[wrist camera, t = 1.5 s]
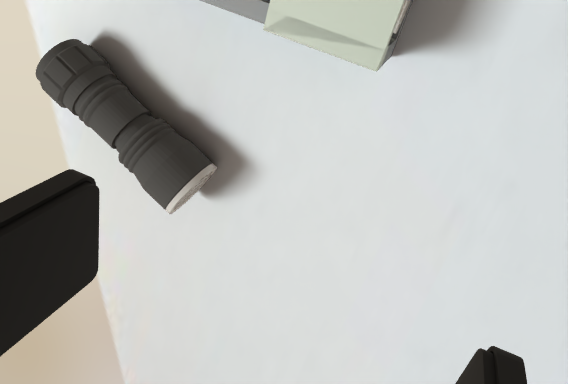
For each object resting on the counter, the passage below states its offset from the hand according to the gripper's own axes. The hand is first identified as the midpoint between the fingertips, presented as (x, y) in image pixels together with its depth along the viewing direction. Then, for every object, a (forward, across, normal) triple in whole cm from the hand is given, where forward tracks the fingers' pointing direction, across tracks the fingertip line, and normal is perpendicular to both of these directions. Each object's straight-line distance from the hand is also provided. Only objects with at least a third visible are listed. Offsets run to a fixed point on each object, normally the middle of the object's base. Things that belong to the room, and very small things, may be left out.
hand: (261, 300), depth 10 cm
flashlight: (+24, +19, +9) cm, 32 cm away
